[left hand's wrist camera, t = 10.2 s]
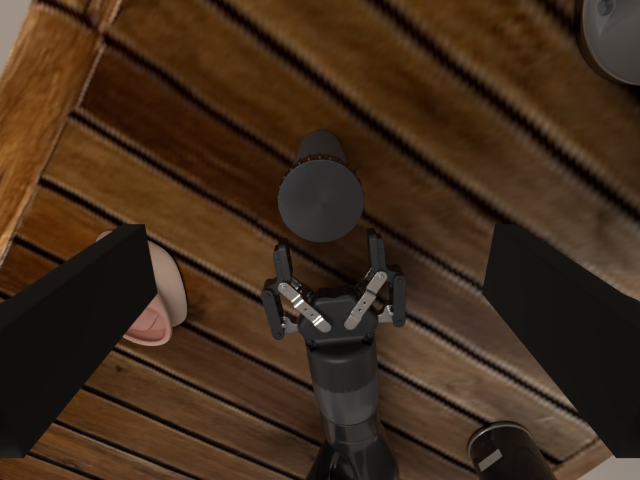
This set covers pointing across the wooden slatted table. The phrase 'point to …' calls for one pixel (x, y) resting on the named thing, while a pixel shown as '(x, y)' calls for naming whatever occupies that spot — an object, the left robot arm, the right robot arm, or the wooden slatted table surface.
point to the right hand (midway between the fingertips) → (326, 236)
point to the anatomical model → (160, 302)
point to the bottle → (320, 145)
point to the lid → (320, 198)
